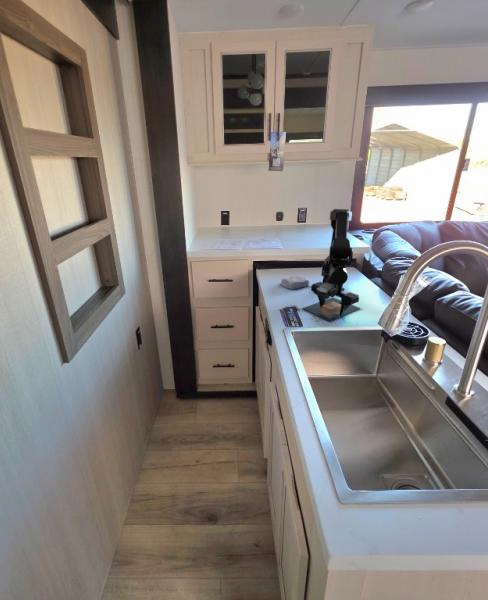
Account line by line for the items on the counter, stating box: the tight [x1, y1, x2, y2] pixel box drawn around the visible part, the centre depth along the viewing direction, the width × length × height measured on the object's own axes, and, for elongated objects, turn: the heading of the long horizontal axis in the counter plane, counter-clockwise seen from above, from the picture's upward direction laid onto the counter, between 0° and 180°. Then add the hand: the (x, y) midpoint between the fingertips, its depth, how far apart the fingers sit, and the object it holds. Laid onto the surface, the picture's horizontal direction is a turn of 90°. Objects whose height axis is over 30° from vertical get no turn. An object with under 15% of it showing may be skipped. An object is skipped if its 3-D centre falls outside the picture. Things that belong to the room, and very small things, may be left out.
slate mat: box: [302, 297, 361, 322], centre depth 133 cm, size 20×14×1 cm
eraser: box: [321, 302, 341, 318], centre depth 127 cm, size 7×4×4 cm, turn 125°
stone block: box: [280, 275, 310, 290], centre depth 158 cm, size 12×5×10 cm
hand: (331, 312), depth 127 cm, fingers open, 9 cm apart
